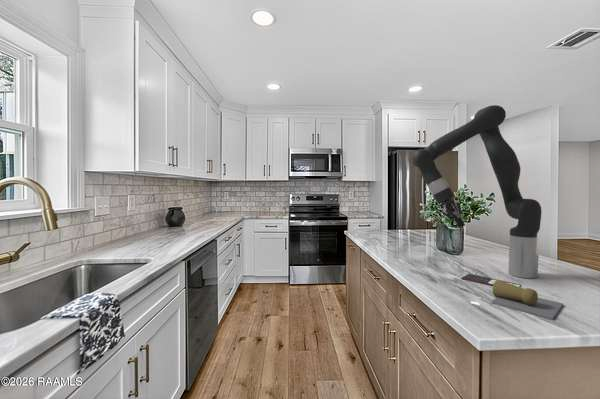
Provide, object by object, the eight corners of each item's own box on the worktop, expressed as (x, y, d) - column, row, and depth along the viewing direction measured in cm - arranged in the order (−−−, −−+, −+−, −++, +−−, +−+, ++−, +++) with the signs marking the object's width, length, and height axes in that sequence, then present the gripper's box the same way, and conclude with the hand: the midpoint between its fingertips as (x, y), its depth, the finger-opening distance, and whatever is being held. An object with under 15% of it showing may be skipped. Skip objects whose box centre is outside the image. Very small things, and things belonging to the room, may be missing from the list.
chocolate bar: (468, 273, 122) (520, 284, 108) (468, 275, 122) (520, 286, 109) (461, 278, 116) (515, 290, 102) (461, 280, 116) (515, 292, 103)
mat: (491, 303, 92) (491, 301, 92) (507, 291, 102) (507, 290, 102) (552, 320, 80) (552, 317, 80) (562, 305, 90) (562, 303, 90)
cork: (500, 296, 99) (539, 307, 89) (492, 297, 96) (531, 308, 86) (501, 279, 99) (540, 288, 90) (493, 279, 96) (533, 289, 86)
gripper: (441, 189, 114) (464, 228, 110) (454, 183, 122) (477, 219, 118) (425, 197, 120) (447, 234, 116) (439, 191, 128) (460, 225, 124)
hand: (462, 226), depth 117 cm, fingers closed
